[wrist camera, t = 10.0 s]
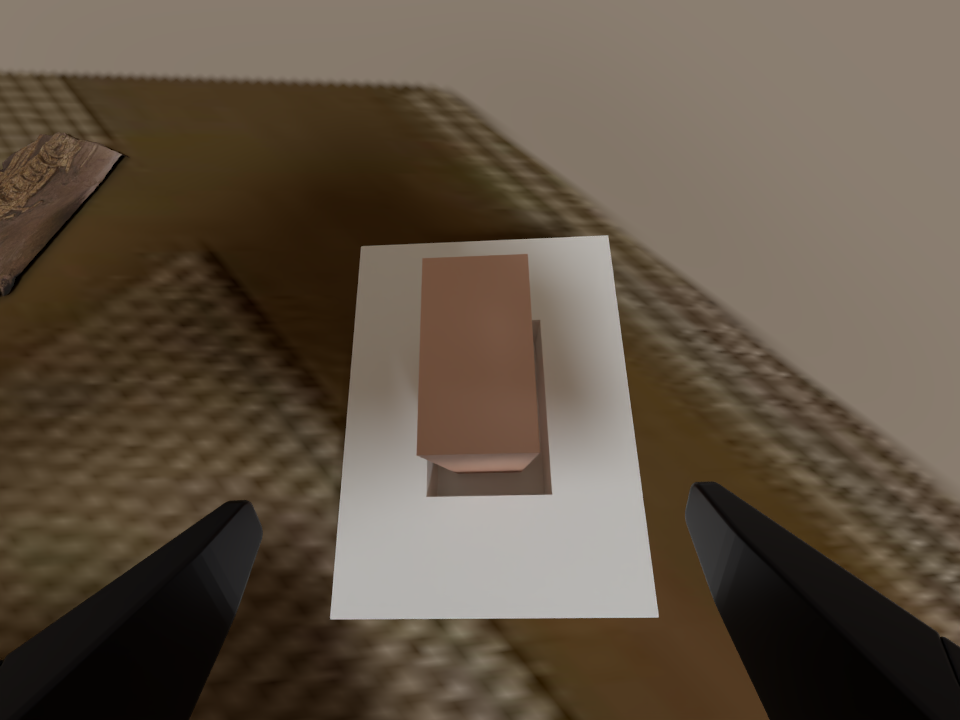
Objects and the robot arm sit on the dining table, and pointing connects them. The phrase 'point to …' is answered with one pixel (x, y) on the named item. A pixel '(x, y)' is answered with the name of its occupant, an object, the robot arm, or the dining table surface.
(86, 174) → the wooden fragment
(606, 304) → the white slotted block
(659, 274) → the dining table surface
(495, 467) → the pink rectangular block
